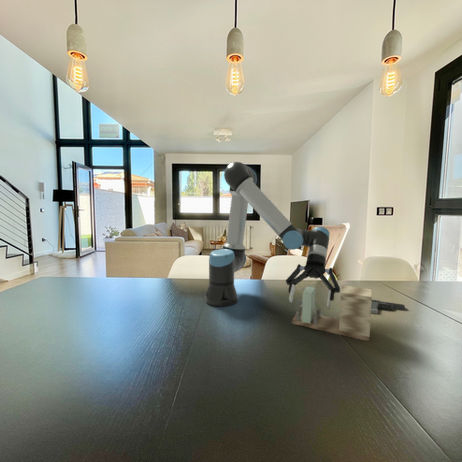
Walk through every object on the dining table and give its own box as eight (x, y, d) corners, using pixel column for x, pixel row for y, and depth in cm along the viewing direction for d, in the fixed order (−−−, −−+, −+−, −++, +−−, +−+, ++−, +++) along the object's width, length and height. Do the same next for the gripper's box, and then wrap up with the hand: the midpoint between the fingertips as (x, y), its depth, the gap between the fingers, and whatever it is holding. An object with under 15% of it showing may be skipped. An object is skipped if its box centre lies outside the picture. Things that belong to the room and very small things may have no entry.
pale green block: (298, 321, 88) (299, 291, 87) (303, 312, 96) (304, 285, 95) (310, 323, 86) (311, 293, 85) (314, 314, 94) (315, 287, 93)
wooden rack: (292, 323, 89) (293, 285, 88) (297, 314, 97) (298, 279, 96) (369, 341, 77) (371, 297, 76) (368, 329, 85) (370, 289, 84)
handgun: (414, 315, 95) (403, 302, 106) (364, 307, 100) (359, 296, 111) (413, 321, 95) (402, 308, 106) (364, 314, 100) (358, 302, 112)
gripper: (349, 266, 98) (345, 315, 86) (289, 260, 110) (278, 302, 98) (349, 255, 93) (345, 306, 81) (286, 250, 105) (274, 293, 93)
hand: (308, 304), depth 89 cm, fingers open, 13 cm apart
